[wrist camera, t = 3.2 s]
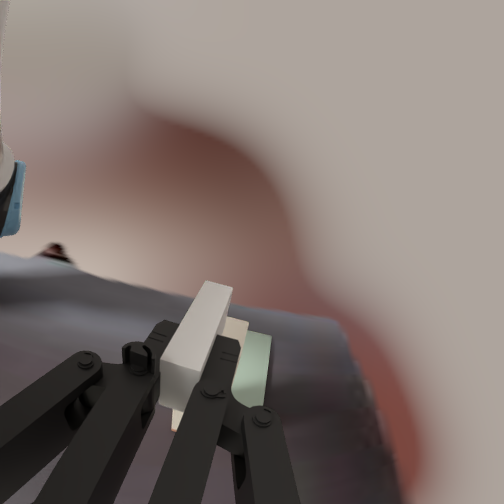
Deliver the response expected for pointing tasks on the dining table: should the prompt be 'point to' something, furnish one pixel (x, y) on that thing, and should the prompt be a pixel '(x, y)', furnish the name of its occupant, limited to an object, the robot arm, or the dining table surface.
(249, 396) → the sage mat
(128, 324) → the dining table surface
